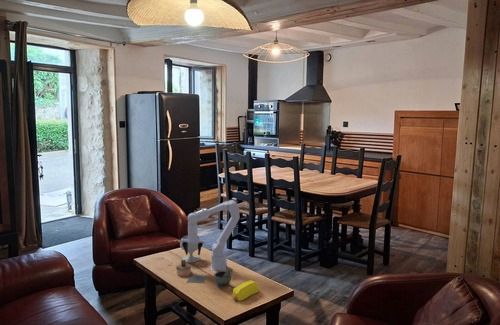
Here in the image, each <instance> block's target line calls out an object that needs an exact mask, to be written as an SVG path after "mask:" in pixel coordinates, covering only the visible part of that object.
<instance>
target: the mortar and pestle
mask: <svg viewBox="0 0 500 325" xmlns="http://www.w3.org/2000/svg"><path fill="white" fill-rule="evenodd" d="M213 274H214V275H213V278H214V281H215V283H216V284H217V287H219V288H221V289H222V288H223V289H225V288H228V287H229V283H231V281H232V278H233V277H232V276H233V275H232V268H231V267H226V270H225V271H216V272H215V273H213Z"/></svg>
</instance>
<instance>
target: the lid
mask: <svg viewBox="0 0 500 325" xmlns="http://www.w3.org/2000/svg"><path fill="white" fill-rule="evenodd" d="M175 267H176V268H175V270H176V269H177V270H188V269H190V268H191V269H192V265H191V263H187V262H186V260H182V259H181V261H180V263H179V264H176V266H175Z"/></svg>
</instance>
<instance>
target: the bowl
mask: <svg viewBox="0 0 500 325" xmlns="http://www.w3.org/2000/svg"><path fill="white" fill-rule="evenodd" d="M175 270H176V275H177V276H180V277H185V276H189V275H191V273H192V267H191V268H190V269H188V270H177V269H176V268H175Z"/></svg>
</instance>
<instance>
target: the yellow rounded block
mask: <svg viewBox="0 0 500 325" xmlns="http://www.w3.org/2000/svg"><path fill="white" fill-rule="evenodd" d="M259 291H260V288H259V284H258V282H257V281H254V280H252V279H250V280H248V281H245V282H243V283H241V284H239V285H237V286H236V287H234V288H233V291H232V298H233V300H234V301H237V300H238V301H239V302H242V301H244V300H245V299H247V298H249V297H251V296H253V295H255V294H258V293H259Z"/></svg>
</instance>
